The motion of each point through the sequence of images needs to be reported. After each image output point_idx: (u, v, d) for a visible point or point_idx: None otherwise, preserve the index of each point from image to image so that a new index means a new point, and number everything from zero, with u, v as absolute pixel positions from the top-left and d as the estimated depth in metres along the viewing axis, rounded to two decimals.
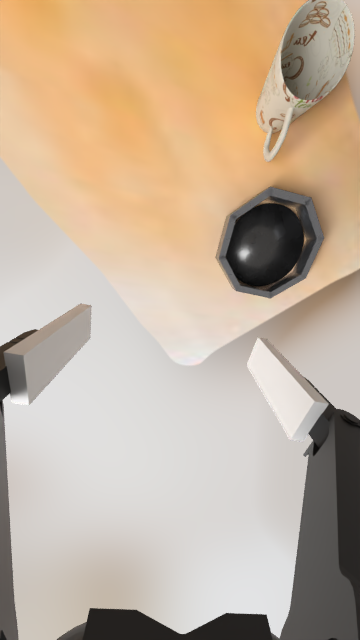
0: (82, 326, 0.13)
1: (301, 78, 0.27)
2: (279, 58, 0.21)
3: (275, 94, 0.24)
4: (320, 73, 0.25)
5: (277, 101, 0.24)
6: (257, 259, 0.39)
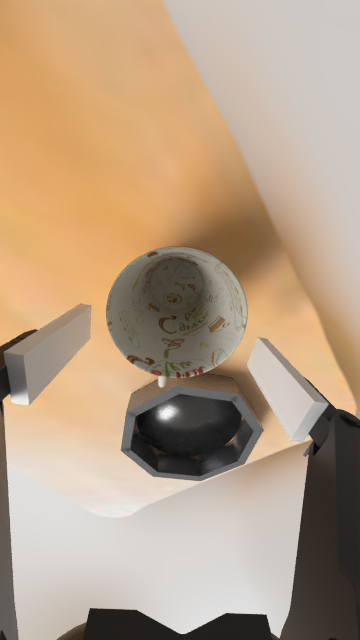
0: (82, 326, 0.13)
1: (201, 269, 0.17)
2: (109, 329, 0.11)
3: None
4: (218, 291, 0.15)
5: None
6: (182, 433, 0.29)
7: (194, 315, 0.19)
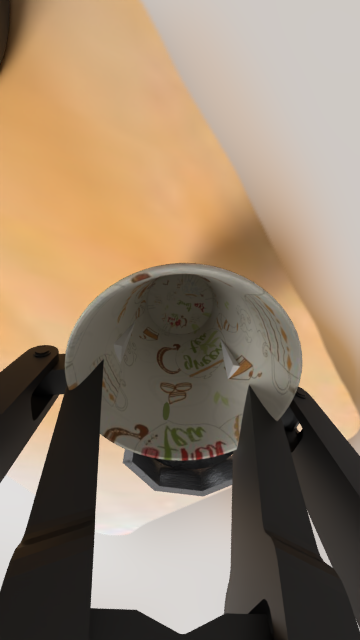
0: None
1: (213, 287, 0.13)
2: None
3: None
4: (240, 320, 0.10)
5: None
6: None
7: (203, 345, 0.14)
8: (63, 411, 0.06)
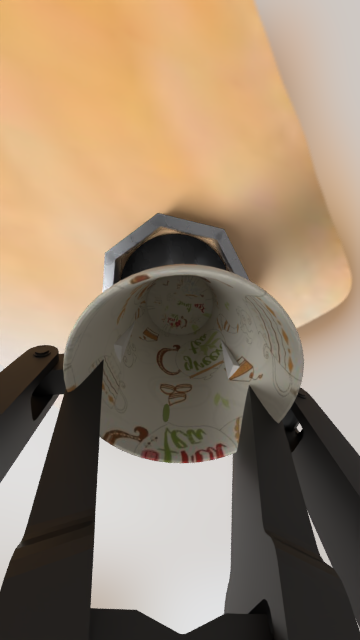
0: None
1: (214, 287, 0.13)
2: None
3: None
4: (241, 321, 0.10)
5: None
6: None
7: (203, 346, 0.14)
8: (63, 411, 0.06)
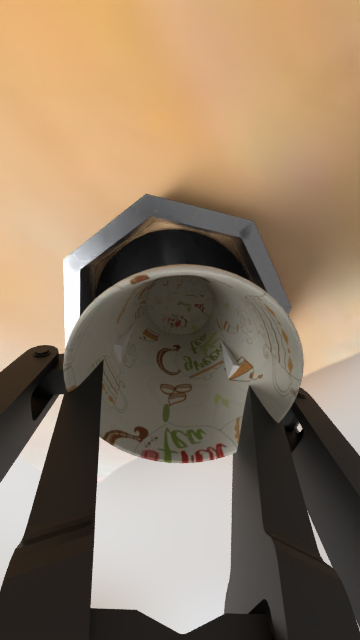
0: None
1: (214, 287, 0.13)
2: None
3: None
4: (241, 321, 0.10)
5: None
6: None
7: (203, 346, 0.14)
8: (63, 411, 0.06)
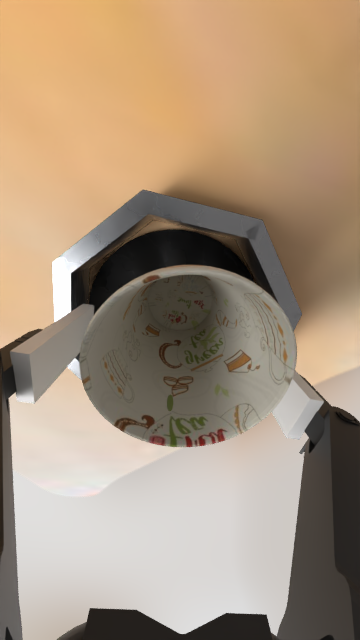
0: (85, 326, 0.13)
1: (213, 285, 0.13)
2: None
3: None
4: (239, 316, 0.11)
5: None
6: None
7: (203, 340, 0.15)
8: None
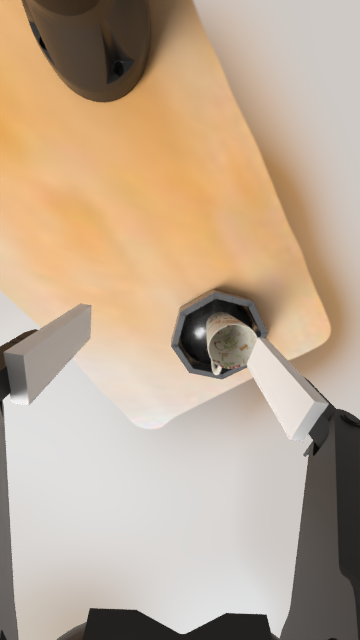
0: (82, 326, 0.13)
1: None
2: (208, 349, 0.31)
3: None
4: (244, 333, 0.34)
5: None
6: None
7: (230, 341, 0.38)
8: None
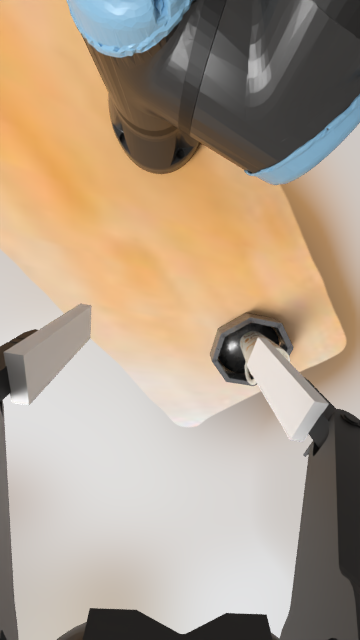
0: (82, 326, 0.13)
1: None
2: None
3: None
4: None
5: None
6: (243, 356, 0.49)
7: None
8: None
